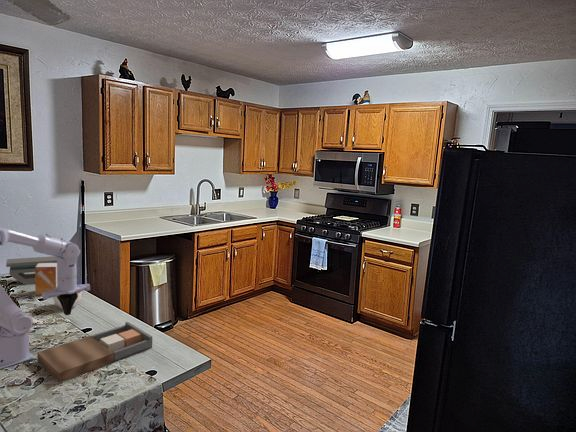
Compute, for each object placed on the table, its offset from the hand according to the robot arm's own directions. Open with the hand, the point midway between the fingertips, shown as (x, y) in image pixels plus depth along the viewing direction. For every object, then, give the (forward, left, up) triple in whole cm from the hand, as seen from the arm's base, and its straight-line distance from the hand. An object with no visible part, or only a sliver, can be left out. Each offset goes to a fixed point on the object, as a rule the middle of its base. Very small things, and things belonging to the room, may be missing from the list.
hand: (67, 314), depth 132 cm
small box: (+12, +50, -10) cm, 52 cm away
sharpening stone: (+15, +68, -10) cm, 70 cm away
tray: (+11, -16, -9) cm, 22 cm away
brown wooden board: (-4, -16, -9) cm, 19 cm away
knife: (0, +21, -10) cm, 23 cm away
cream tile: (+8, -16, -9) cm, 20 cm away
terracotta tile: (+14, -16, -9) cm, 23 cm away
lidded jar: (+12, +29, -10) cm, 33 cm away
